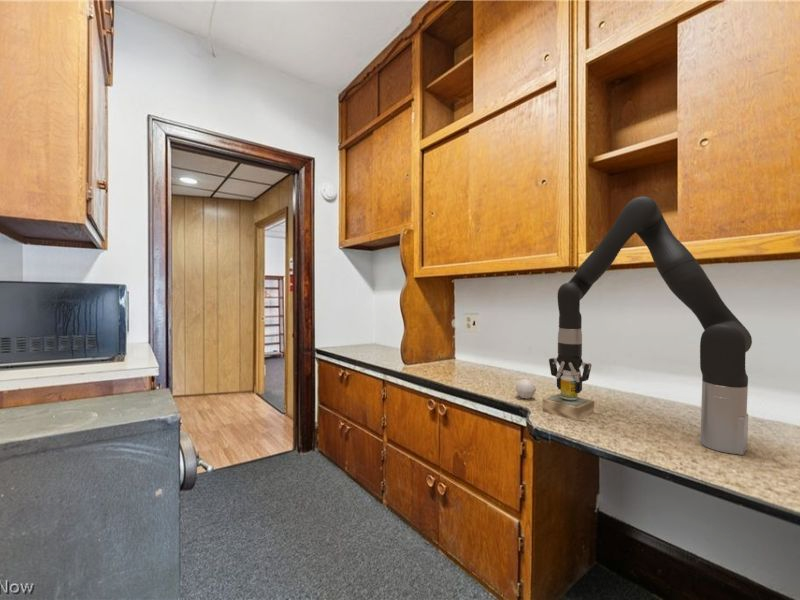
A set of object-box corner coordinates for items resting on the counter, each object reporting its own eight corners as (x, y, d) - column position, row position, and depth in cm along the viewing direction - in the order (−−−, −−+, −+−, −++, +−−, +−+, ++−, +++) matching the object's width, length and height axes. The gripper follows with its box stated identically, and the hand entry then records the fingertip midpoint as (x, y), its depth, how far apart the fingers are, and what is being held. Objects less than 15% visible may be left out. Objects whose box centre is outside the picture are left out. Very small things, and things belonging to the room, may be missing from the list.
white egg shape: (531, 402, 140) (531, 382, 139) (512, 398, 145) (512, 379, 144) (541, 396, 147) (541, 378, 147) (522, 393, 152) (523, 375, 152)
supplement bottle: (566, 394, 133) (566, 367, 132) (580, 398, 128) (581, 370, 128) (557, 397, 130) (557, 369, 129) (571, 401, 125) (572, 372, 125)
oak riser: (594, 412, 129) (594, 400, 128) (577, 420, 121) (577, 407, 121) (559, 404, 138) (560, 392, 138) (542, 411, 130) (542, 398, 130)
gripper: (596, 342, 125) (595, 393, 126) (555, 338, 136) (554, 384, 137) (586, 345, 121) (585, 397, 121) (544, 340, 132) (543, 388, 132)
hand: (569, 390), depth 129 cm, fingers closed on supplement bottle, 5 cm apart
